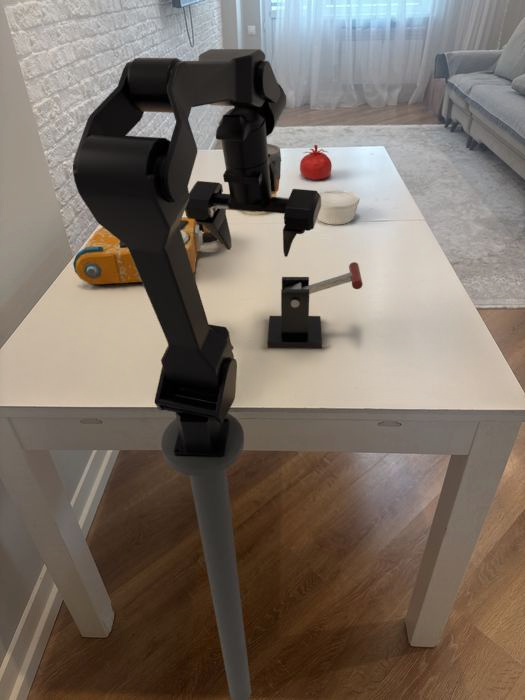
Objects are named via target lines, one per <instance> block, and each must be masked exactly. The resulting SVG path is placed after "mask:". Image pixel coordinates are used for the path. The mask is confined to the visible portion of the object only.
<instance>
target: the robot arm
mask: <svg viewBox="0 0 525 700" xmlns="http://www.w3.org/2000/svg"><path fill="white" fill-rule="evenodd" d="M207 105H210V106H222V107H233V108H231V109H229V110H228V111H226V112H225V113H224V114H223V115H222V117H221V119H220V120H219V122H218V126H217V128H216V132H215V139H216V140H217V141H221V147H222V154H223V159H224V166H225V171H224V173H223V174H222V177H223V182H224V183H227V184H228V191H229V193H223V192H224V188H223V184H222V183H220V182H216V181H215V182H214V181H203V180H197V181H196V182H195V183H194V184H193V186H192V187H191V189H190V191H189V184H190V181H191V176H192V173H193V169H194V166H195V163H196V159H197V156H198V147H197V143H196V140H195V137H194V132H193V131H192V126H191V124H190V120H189V118H190V115H191V111H192V108H196V107H202V106H207ZM286 106H287V95H286V93H285V90H284V89H283V87H282V85H281V84H280V83H279V82H278V80H277V78H276V75H275V73H274V69H273V67H272V65H271V62H270V61H269V60H266V54H265V52H264V51H263V50H262V49H261V48H260V49H259V48H210V49H208V50H205V51H204V52H202V53H200V54H199V55H198V59H197V60H181V59H180V58H177V57H136V58H134V59H132V60H130V61H128V62H126V64H125V65H124V67H123V69H122V72H121V75H120V78H119V81H118V84H117V86H116V88H114V89H113V90H112V91H111V92H110V93H109V94H108V96H107V97H106V98H105V99H104V100H103V101H102V102H101V103H100V104H99V105H98V106H97V107H96V108H95V109H94V110H93V112H91V113H90V114H89V116H88V118H87V120H86V123H85V126H84V129H83V132H82V135H81V136H80V137H81V138H80V140H79V143H78V145H77V149H76V152H75V153H74V154H75V155H74V157H73V163H72V176H73V180H74V184H75V187H76V190H77V192H78V194H79V197H80V198H81V200H82V201H83V202H84V204H85V205H86V207H87V209H88V210H89V212H90V213H91V215H92V217H93V218H94V220H95V221H96V223H98V224H99V225H100V226H101V228H102V227H104V228H105V229H106V230H108V231H109V232H110V233H111V234H113V235H114V236H115V237H116V238H118V239H119V240H120V241H121V242H123V243H124V244H125V245H126V246H127V247H128V250H129V252H130V254H131V257H132V259H133V261H134V264H135V266H136V269H137V271H138V273H139V276H140V278H141V280H142V282H141V283H142V285H143V287H144V290H145V293H146V294H147V297H148V300H149V301H150V304H151V307H152V309H153V311H154V314H155V316H156V319H157V321H158V324H159V326H160V328H161V330H162V332H163V335H164V338H165V340H166V343H167V347H166V349H165V351H164V352H163V355H162V356H161V359H160V361H161V370H160V374H159V379H158V384H157V387H156V391H155V392H156V393H155V397H154V404H155V405H156V408H157V409H158V410H160V411H167V412H172V413H175V416H176V417H175V419H176V418H177V423H178V428H179V432H178V436H177V440H176V444H175V448H174V455H175V456H195V457H223V456H224V455H225V449H226V442H227V436H228V429H229V419H228V418H225V417H226V415H227V413H228V414H229V411H230V410H231V407H232V405H233V404H234V401H235V399H236V393H237V391H236V390H237V377H238V376H237V373H238V362H237V361H238V360H237V359H236V358H235V355H234V352H233V350H234V345H233V344H232V341H231V335H230V332H229V330H228V329H227V327H226V326H221V325H215V324H210V323H209V321H208V317H207V315H206V311H205V308H204V304H203V301H202V298H201V294H200V291H199V288H198V284H197V280H196V278H195V275H194V273H193V271H192V267H191V264H190V261H189V257H188V254H187V251H186V247H185V244H184V241H183V237H182V234H181V231H180V226H179V223H180V221H181V218H183V215H184V213H185V217H188V219H195V220H196V223H198V224H202V225H203V226H204V227H205V228H206V229H208V230H209V231H210V232H211V233H212V234H213V235H214V236H215V237H216V238H217V239H218V240H217V241H218V242H220V244H221V245H222V246H223V247H224V248H225V249H226V250H227V251H231V249H232V247H233V245H232V236H231V232H230V227H229V222H228V219H227V213H226V212H227V211H237V212H243V211H246V212H256V211H258V212H262V211H263V212H270V213H274V214H283V224H284V226H283V228H282V249H283V250H282V251H283V256H284V258H288V256H289V253H290V250H291V247H292V244H293V241H294V239H295V238H296V237H297V235H303V234H304V233H305V232H306V231H308V232H310V231H311V230H314V229H315V225H316V223H317V220H318V218H317V217H318V214H319V211H320V208H321V196H320V195H319V193H320V192H318V191H317V190H312V189H302V188H301V189H300V188H292V190H291V193H290V195H289V197H279V196H276V197H272V194H271V192H272V191H274V192H275V190H276V188H277V180H278V179H280V180H281V171H282V170H281V169H282V168H281V166H282V165H281V164H282V155H281V156H278V155H270V154H268V147H267V144H268V137H269V135H271V134H272V133H273V131H274V130H275V127H277V124H278V122H279V120H280V118H281V117H282V115H283V113H284V111H285V109H286ZM145 113H167V114H169V113H170V114H173V116H174V120H175V125H174V128H173V131H172V135H171V138H170V140H169V139H168V138H166V137H157V136H139V135H138V136H137V135H128V134H129V133H130V132H132V130H133V129H134V128H135V127H136V125H138V124H139V123H140V122H141V120H142V118H143V116H144V114H145ZM225 421H227V422H225ZM178 451H179V452H178ZM220 453H221V454H220Z"/></svg>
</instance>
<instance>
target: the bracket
mask: <svg viewBox="0 0 525 700" xmlns="http://www.w3.org/2000/svg"><path fill="white" fill-rule="evenodd" d="M300 282H301V284H302V286H303V287H305V286H309V285H310V276H282V277H281V289H280V306H281V307H280V312H281V313H280V315H269V318H268V329H267V341H266V344H267V345H266V346H267V349H323V334H322V321H321V318H322V317H321V315H310V294H309V289H285V287H287V286H291V285H294V284H297V283H300Z"/></svg>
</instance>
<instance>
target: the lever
mask: <svg viewBox="0 0 525 700" xmlns="http://www.w3.org/2000/svg"><path fill="white" fill-rule="evenodd" d="M348 269H349V272H348V273H344V274H341V275H337V276H334V277H332V278H327V279H325V280H322V281H318V282H316V283H311V284H309V286H305V287H303V286H302V284H301V282H300V283H297V284H294V285H291V286H287V287H285V289H309V295H312V294H314V293H318V292H321V291H325V290H327V289H332V288H335V287H337V286H340V285H343V284H347V283H351V287H352V288H353V289H355V290H359V289H362V287H363V286H364V284H363V280H362V279H363V278H362V275H361V270H360V269H361V268H360V266H359V263H358V262H355V261H353V262H351V263H350V264H349V265H348Z"/></svg>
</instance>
